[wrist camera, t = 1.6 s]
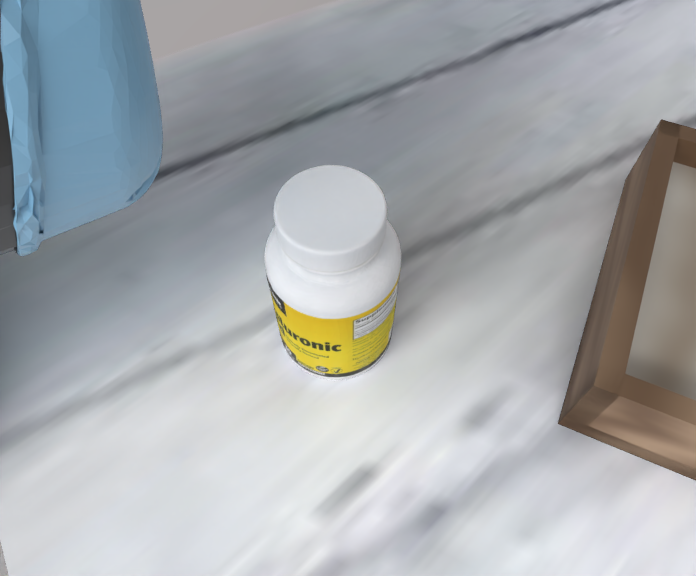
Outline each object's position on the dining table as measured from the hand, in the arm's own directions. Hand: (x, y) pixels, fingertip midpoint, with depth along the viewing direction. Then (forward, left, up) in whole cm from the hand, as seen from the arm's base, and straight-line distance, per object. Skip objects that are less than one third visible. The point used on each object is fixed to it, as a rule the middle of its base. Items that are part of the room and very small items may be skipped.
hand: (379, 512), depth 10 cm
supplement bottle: (-6, +10, -15) cm, 19 cm away
